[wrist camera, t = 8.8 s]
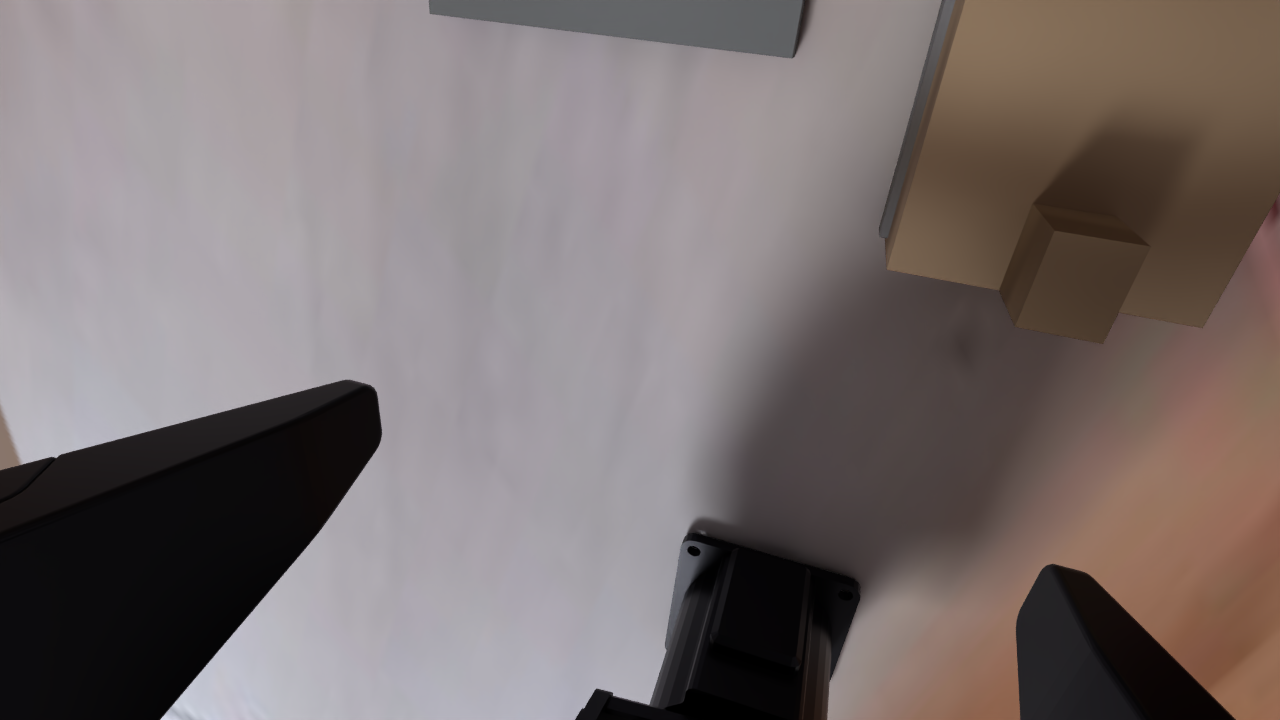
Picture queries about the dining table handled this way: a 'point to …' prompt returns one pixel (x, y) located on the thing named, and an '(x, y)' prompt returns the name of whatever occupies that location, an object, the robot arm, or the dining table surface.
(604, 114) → the dining table surface
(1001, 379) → the dining table surface
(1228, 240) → the plane body
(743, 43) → the mat
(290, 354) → the dining table surface
